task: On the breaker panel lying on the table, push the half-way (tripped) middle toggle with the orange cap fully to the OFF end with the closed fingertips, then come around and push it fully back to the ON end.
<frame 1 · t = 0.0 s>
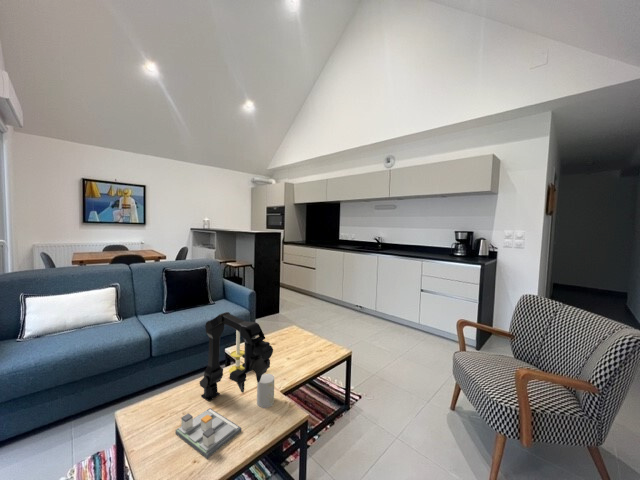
hand: (250, 387, 118), 15 cm above the table, fingers open, 9 cm apart
toggle mid: (206, 422, 109), point 5 cm above the table, slide at 4.0 cm
toggle left: (187, 421, 110), point 5 cm above the table, slide at 0.0 cm
grey cylinder: (265, 402, 130), on the table
candle: (237, 369, 158), on the table
panel: (208, 432, 110), on the table
toggle right: (208, 437, 102), point 5 cm above the table, slide at 0.0 cm
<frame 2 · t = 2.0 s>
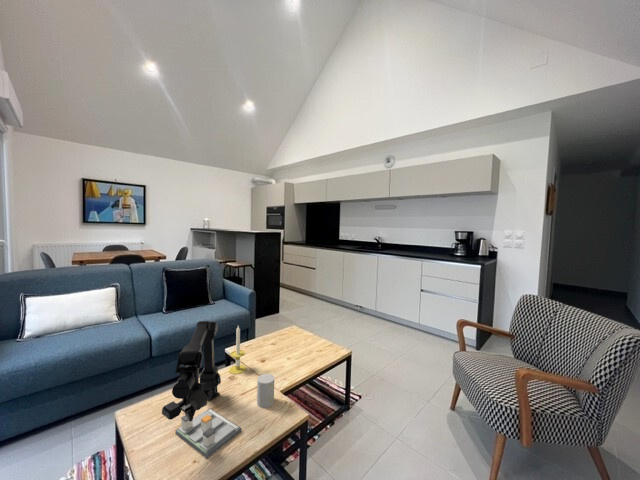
hand: (190, 420, 103), 10 cm above the table, fingers closed
nothing on the table moved.
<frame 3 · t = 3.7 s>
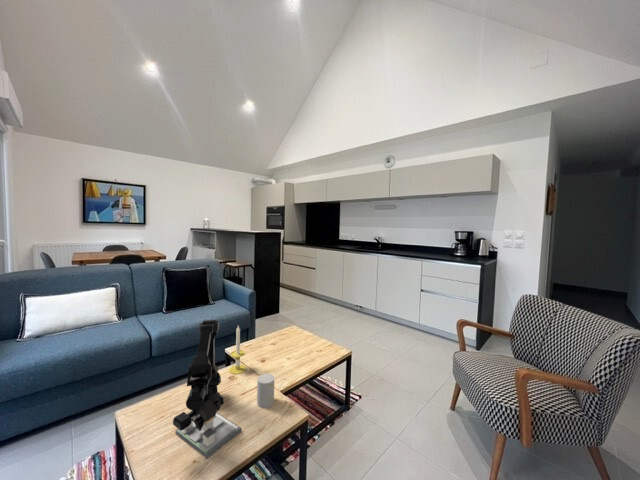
hand: (199, 430, 107), 3 cm above the table, fingers closed
toggle mid: (207, 422, 110), point 5 cm above the table, slide at 4.6 cm, touching gripper
everything else where it was.
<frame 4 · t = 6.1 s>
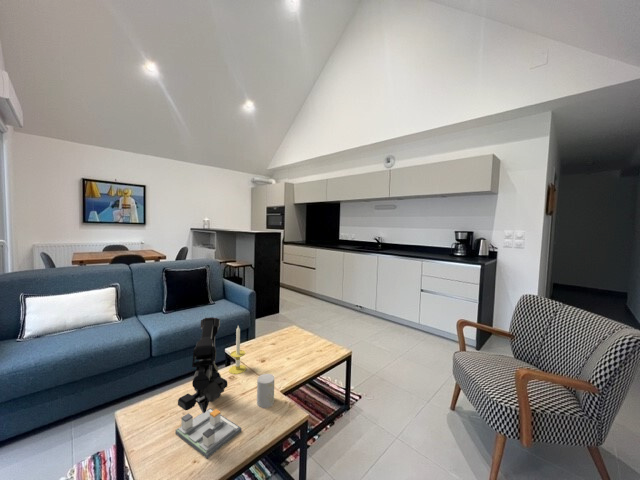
hand: (204, 412, 108), 10 cm above the table, fingers closed
toggle mid: (215, 417, 112), point 5 cm above the table, slide at 8.0 cm
everything else where it was.
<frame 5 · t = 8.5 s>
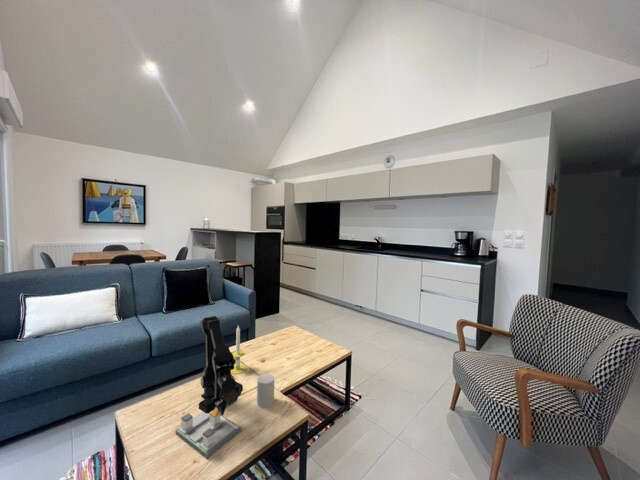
hand: (221, 415, 115), 4 cm above the table, fingers closed
toggle mid: (214, 417, 112), point 5 cm above the table, slide at 8.0 cm, touching gripper
everything else where it was.
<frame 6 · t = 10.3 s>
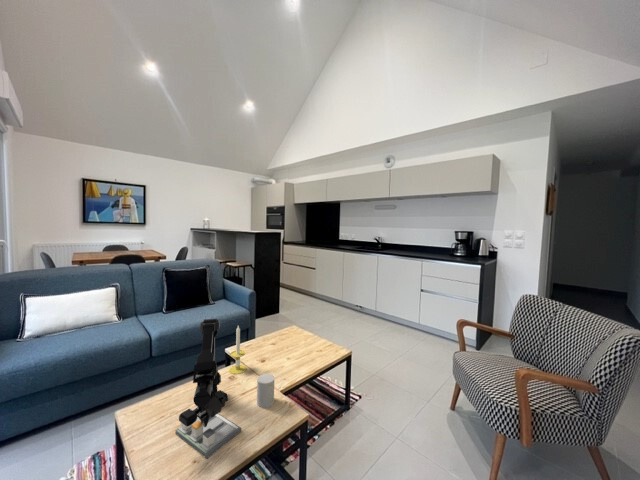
hand: (205, 426, 108), 4 cm above the table, fingers closed
toggle mid: (197, 429, 106), point 5 cm above the table, slide at -0.1 cm, touching gripper
everything else where it was.
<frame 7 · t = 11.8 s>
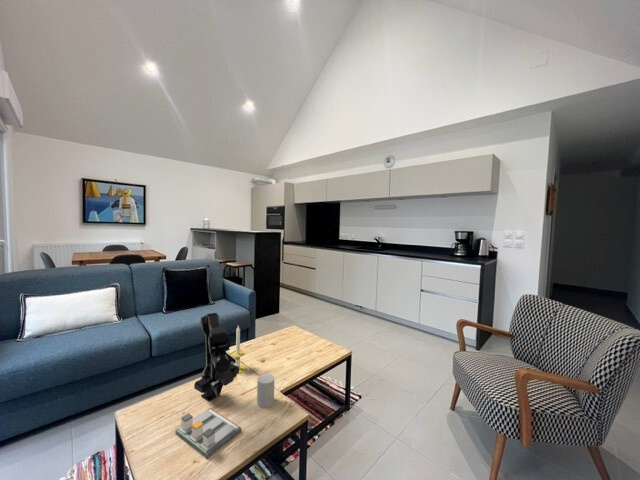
hand: (217, 396, 115), 12 cm above the table, fingers closed
toggle mid: (197, 429, 106), point 5 cm above the table, slide at 0.0 cm
everything else where it was.
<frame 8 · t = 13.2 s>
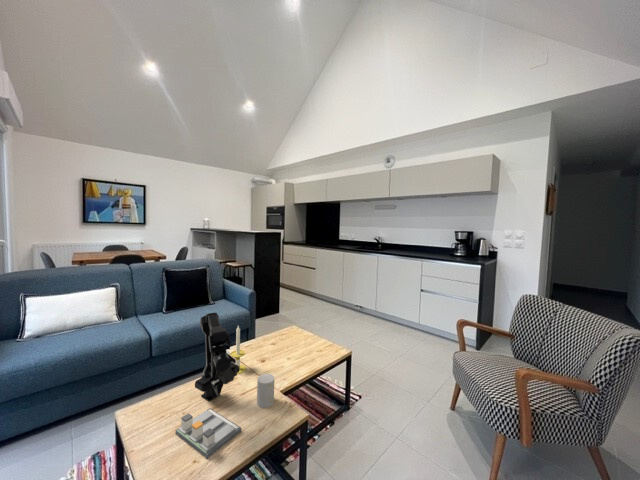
hand: (218, 395, 116), 12 cm above the table, fingers closed
nothing on the table moved.
at the end: toggle mid slide at 0.0 cm; toggle left slide at 0.0 cm; toggle right slide at 0.0 cm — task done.
